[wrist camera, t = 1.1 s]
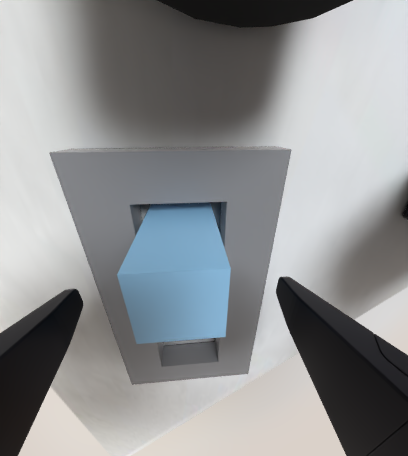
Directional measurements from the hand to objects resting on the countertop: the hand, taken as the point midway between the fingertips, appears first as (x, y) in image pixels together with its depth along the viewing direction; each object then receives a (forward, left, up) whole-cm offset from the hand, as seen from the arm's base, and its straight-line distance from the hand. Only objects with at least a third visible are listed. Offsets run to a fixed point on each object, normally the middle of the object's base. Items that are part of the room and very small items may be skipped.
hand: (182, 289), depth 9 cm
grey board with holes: (0, +6, -6) cm, 8 cm away
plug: (0, 0, -6) cm, 6 cm away
